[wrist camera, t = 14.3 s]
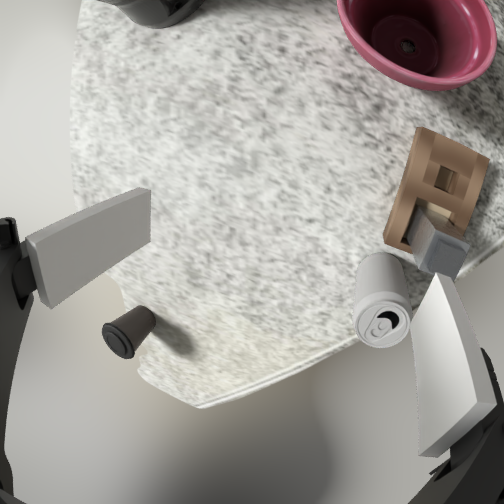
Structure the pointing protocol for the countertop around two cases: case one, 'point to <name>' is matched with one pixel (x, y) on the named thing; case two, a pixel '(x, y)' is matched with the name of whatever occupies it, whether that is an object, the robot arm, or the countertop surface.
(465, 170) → the socket block
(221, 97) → the countertop surface
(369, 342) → the beverage can
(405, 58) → the plant pot
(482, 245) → the countertop surface
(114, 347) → the coffee cup
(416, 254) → the grey square peg
